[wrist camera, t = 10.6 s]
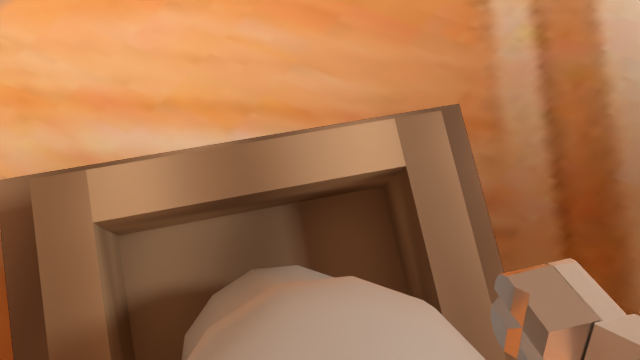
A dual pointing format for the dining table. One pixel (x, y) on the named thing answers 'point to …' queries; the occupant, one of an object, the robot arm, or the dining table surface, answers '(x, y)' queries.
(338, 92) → the dining table surface
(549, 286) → the robot arm
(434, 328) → the salt shaker
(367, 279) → the board
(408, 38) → the dining table surface
